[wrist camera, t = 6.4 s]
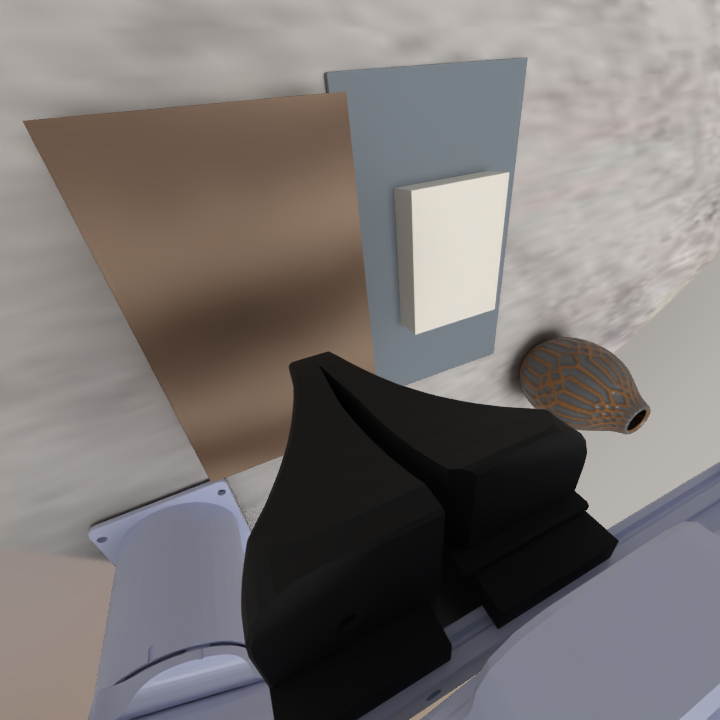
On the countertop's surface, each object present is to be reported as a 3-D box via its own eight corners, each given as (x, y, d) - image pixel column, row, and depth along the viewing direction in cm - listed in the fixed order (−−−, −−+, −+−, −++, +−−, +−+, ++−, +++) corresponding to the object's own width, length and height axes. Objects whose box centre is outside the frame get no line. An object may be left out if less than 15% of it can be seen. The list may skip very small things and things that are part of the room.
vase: (556, 383, 34) (651, 442, 27) (500, 403, 32) (587, 472, 25) (576, 318, 30) (691, 366, 24) (514, 335, 28) (621, 394, 21)
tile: (415, 334, 21) (400, 323, 23) (494, 309, 23) (476, 300, 24) (411, 190, 17) (393, 188, 18) (509, 172, 19) (486, 171, 20)
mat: (490, 351, 28) (493, 353, 28) (365, 396, 25) (367, 399, 25) (523, 58, 18) (527, 57, 18) (324, 73, 15) (326, 72, 15)
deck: (357, 387, 24) (380, 418, 21) (208, 440, 21) (211, 482, 19) (317, 103, 16) (346, 91, 13) (57, 128, 13) (22, 120, 10)
